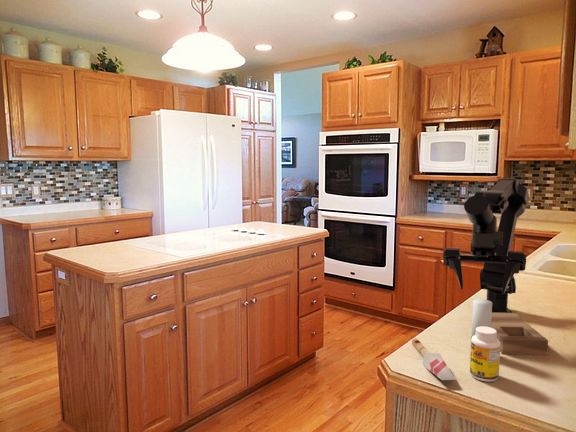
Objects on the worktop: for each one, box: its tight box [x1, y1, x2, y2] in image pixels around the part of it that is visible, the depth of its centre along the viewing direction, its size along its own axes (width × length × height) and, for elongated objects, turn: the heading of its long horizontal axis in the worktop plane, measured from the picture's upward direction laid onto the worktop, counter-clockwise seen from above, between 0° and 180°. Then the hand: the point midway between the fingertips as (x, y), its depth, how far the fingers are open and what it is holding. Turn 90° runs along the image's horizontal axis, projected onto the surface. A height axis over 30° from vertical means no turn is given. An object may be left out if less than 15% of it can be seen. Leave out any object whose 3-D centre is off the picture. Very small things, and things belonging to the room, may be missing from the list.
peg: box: [470, 298, 492, 339], centre depth 101 cm, size 4×4×12 cm
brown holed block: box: [491, 312, 549, 356], centre depth 109 cm, size 18×10×4 cm, turn 175°
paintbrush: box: [411, 338, 456, 381], centre depth 96 cm, size 4×3×20 cm
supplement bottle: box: [469, 326, 501, 383], centre depth 90 cm, size 6×6×10 cm
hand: (482, 290), depth 105 cm, fingers open, 9 cm apart
